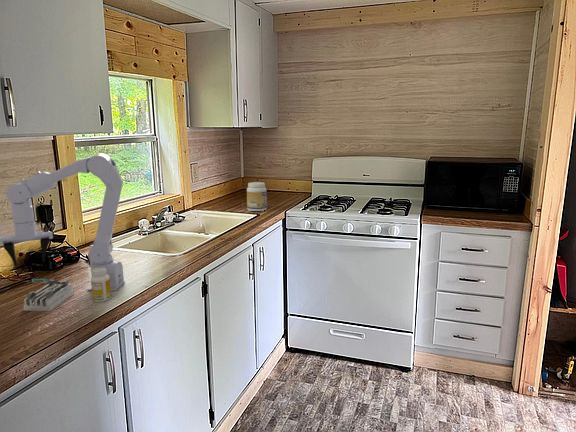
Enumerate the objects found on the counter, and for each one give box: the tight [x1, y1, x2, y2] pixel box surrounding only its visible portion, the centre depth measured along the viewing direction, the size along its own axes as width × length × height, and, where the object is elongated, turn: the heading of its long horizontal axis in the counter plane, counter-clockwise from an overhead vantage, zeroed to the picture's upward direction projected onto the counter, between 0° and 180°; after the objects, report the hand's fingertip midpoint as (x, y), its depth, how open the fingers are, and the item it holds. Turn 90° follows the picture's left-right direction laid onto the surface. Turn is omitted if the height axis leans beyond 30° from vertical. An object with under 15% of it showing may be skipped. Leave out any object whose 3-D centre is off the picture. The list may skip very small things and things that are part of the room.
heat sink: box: [22, 279, 75, 312], centre depth 133 cm, size 13×8×5 cm, turn 177°
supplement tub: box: [246, 181, 268, 212], centre depth 266 cm, size 12×12×17 cm
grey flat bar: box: [31, 278, 63, 285], centre depth 134 cm, size 11×4×1 cm, turn 177°
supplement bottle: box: [90, 267, 112, 303], centre depth 135 cm, size 5×5×10 cm
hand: (30, 263), depth 139 cm, fingers open, 7 cm apart
